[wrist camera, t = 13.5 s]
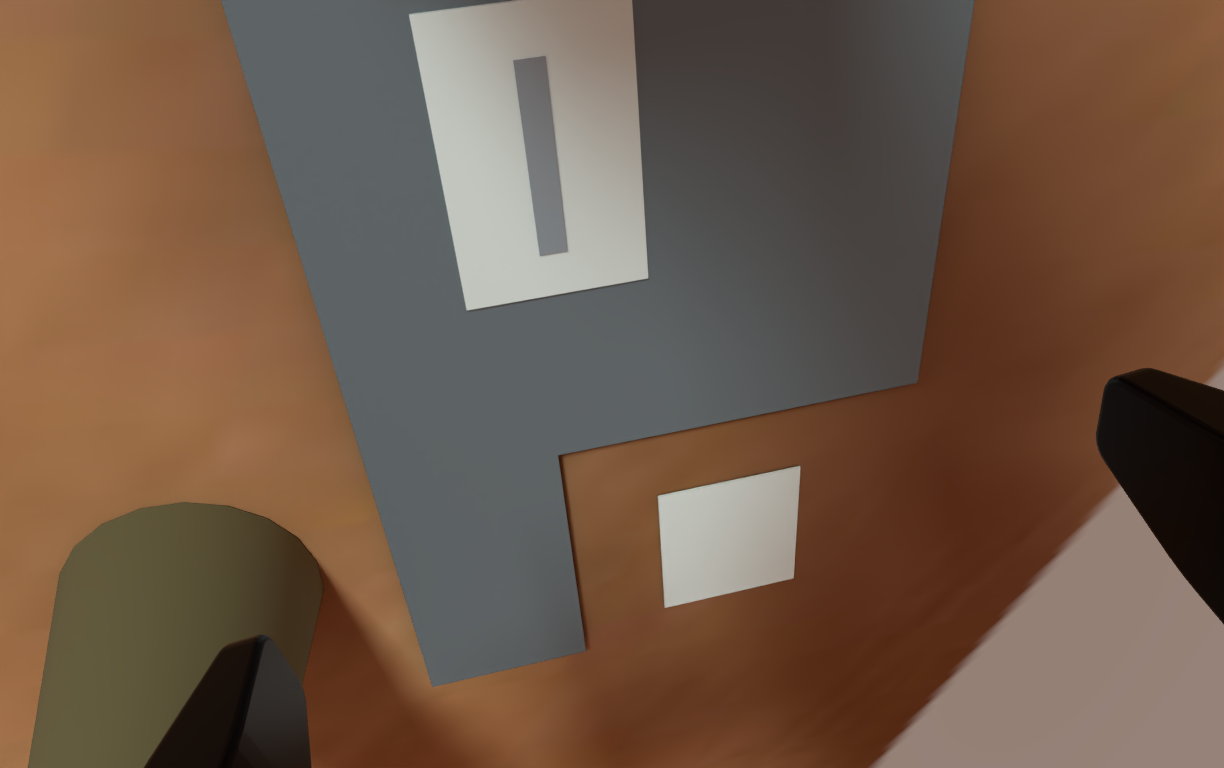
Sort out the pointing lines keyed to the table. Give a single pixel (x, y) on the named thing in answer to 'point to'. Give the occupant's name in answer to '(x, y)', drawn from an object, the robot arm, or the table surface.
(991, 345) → the table surface
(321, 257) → the label panel
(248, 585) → the olive green pawn
